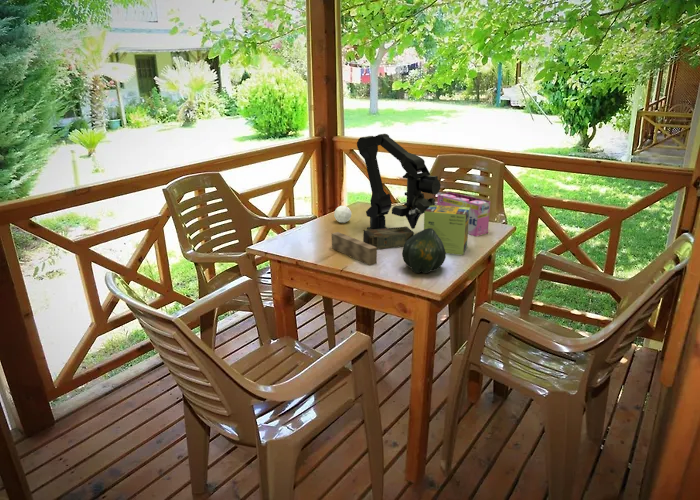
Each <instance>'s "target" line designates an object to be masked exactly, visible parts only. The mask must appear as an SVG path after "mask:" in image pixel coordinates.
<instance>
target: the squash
mask: <svg viewBox="0 0 700 500" xmlns="http://www.w3.org/2000/svg"><path fill="white" fill-rule="evenodd" d="M446 255H447V253H445V248H444V245H443V242H442V241H441V239H440V238H439V237H438V235H437V234H436V232H435V231H434V230H433V228H428V229H425V230H424V229H423V230H420V231H419V232H416V233H414V236H412V237H411V238H409V239H408V240H407V241H406V243H405V245H404V246H403V248H402V252H401V256H402V259H403V262H404V263H405V265H406V266H407V267H409V268H410V269H411V271H412V272H413V273H416V274H419V273H423V274H428V273H430V272H432V271H437V270H438V269H439V268H440V267H442V266H443V264H444V263H445V260H446Z"/></svg>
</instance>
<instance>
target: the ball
mask: <svg viewBox="0 0 700 500" xmlns="http://www.w3.org/2000/svg"><path fill="white" fill-rule="evenodd" d="M333 215H334V216H333V217H334V218H335V220H336V221H337V222H339V223H341V224H342V223H343V224H346V223H347V222H348V221H350V219H352V211H351V209H350V208H349V207H348V206H347V205H339V206H338V207H336V208H335V210H334V214H333Z"/></svg>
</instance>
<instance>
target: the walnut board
mask: <svg viewBox="0 0 700 500" xmlns="http://www.w3.org/2000/svg"><path fill="white" fill-rule="evenodd" d="M331 249H333V250H335V251H338V252H339V253H341V254H344V255H346V256H349V257H350V256H351V258H353V259H355V260H357V261H360V262H362V263H364V264H365V265H368V266H372V265H375V264H377V261H378V260H377V259H378V258H377V254H378V249H377V247H375V246H372V245H370V244H367V243H365V242H363V241H362V240H360V239H357V238H355V237H352V236H350V235H348V234H344V233H341V232H339V231H336V232H332V233H331Z"/></svg>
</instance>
